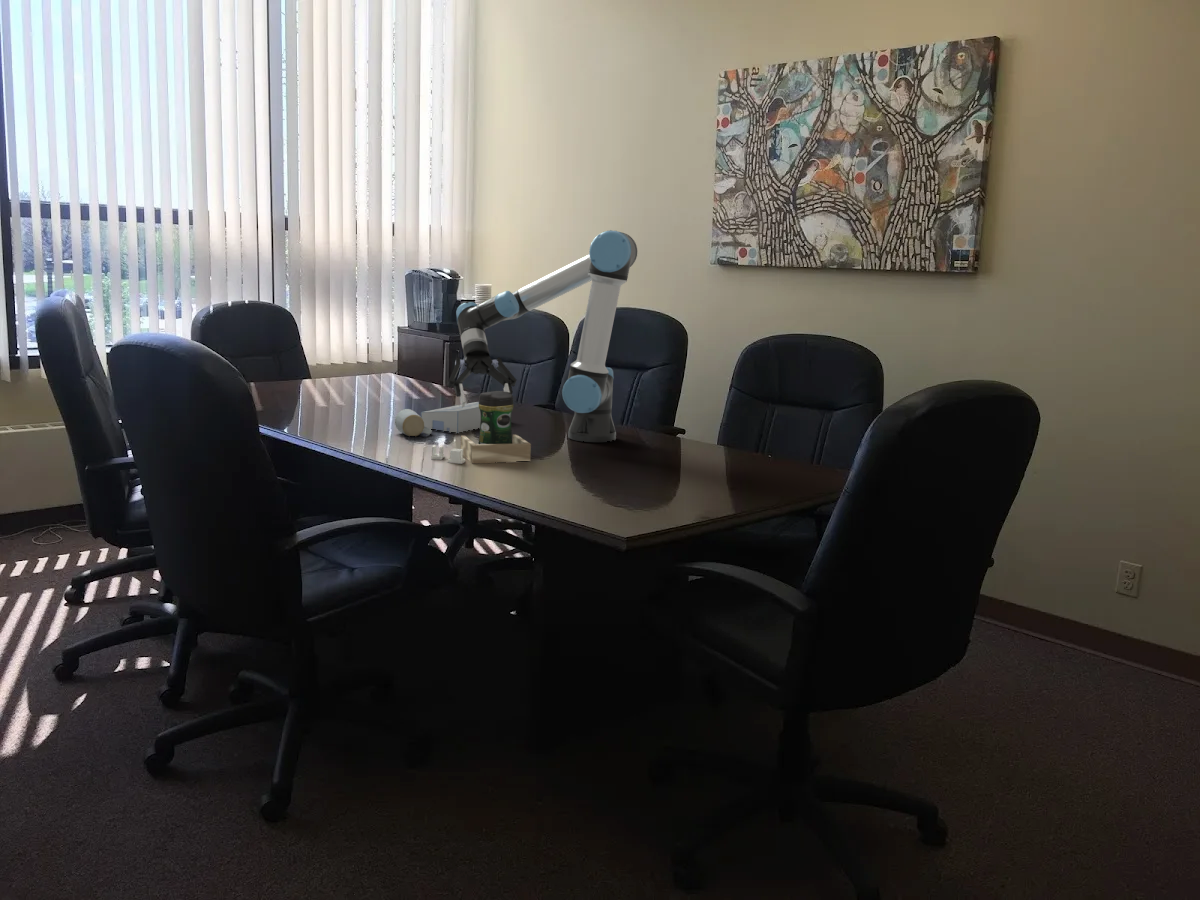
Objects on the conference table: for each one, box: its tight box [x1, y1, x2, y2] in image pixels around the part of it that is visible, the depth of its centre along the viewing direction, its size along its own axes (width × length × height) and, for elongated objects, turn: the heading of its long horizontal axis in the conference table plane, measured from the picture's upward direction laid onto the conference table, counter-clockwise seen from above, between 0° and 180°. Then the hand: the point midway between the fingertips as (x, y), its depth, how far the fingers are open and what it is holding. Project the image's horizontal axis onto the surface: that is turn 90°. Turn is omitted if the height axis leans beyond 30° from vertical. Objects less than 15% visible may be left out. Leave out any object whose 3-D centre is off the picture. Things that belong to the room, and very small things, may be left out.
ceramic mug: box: [394, 408, 433, 437], centre depth 298 cm, size 11×8×8 cm
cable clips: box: [430, 444, 466, 465], centre depth 264 cm, size 5×12×3 cm, turn 57°
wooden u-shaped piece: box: [460, 434, 532, 464], centre depth 270 cm, size 15×16×5 cm
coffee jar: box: [477, 390, 514, 444], centre depth 270 cm, size 10×8×19 cm
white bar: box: [420, 401, 481, 434], centre depth 321 cm, size 30×14×8 cm, turn 153°
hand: (486, 404), depth 279 cm, fingers open, 13 cm apart
